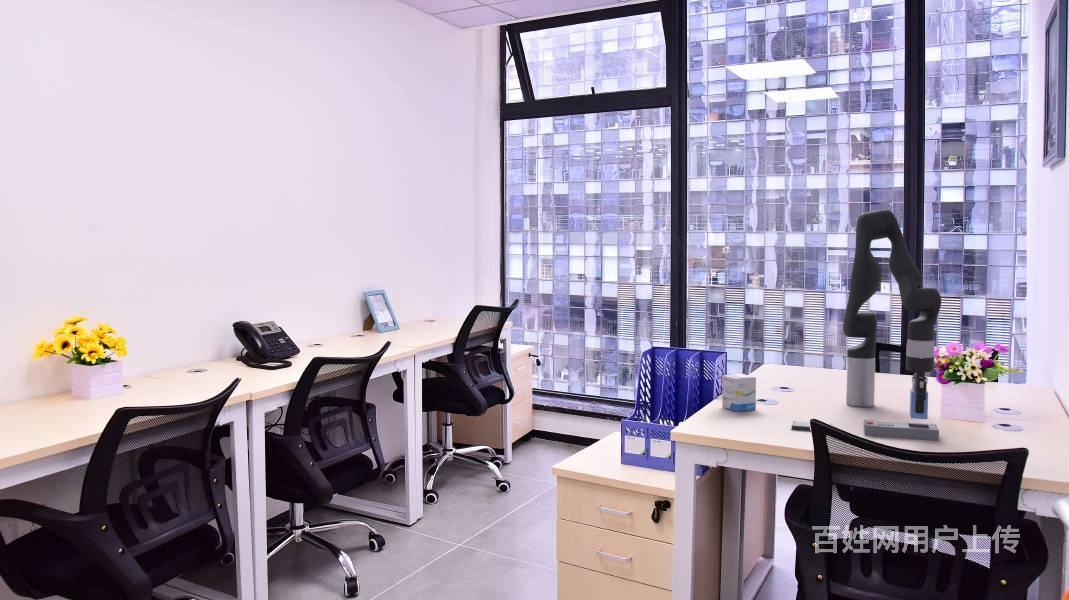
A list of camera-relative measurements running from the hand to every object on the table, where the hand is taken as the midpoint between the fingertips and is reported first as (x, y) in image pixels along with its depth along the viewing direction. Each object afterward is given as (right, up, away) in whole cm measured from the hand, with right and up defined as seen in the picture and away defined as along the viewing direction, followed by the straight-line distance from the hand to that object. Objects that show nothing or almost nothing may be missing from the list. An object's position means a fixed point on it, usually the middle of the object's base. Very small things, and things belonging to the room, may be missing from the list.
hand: (918, 411), depth 234 cm
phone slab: (-28, -7, +11) cm, 31 cm away
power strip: (-4, -7, +2) cm, 9 cm away
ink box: (-43, -5, +42) cm, 60 cm away
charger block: (0, -2, 0) cm, 2 cm away
